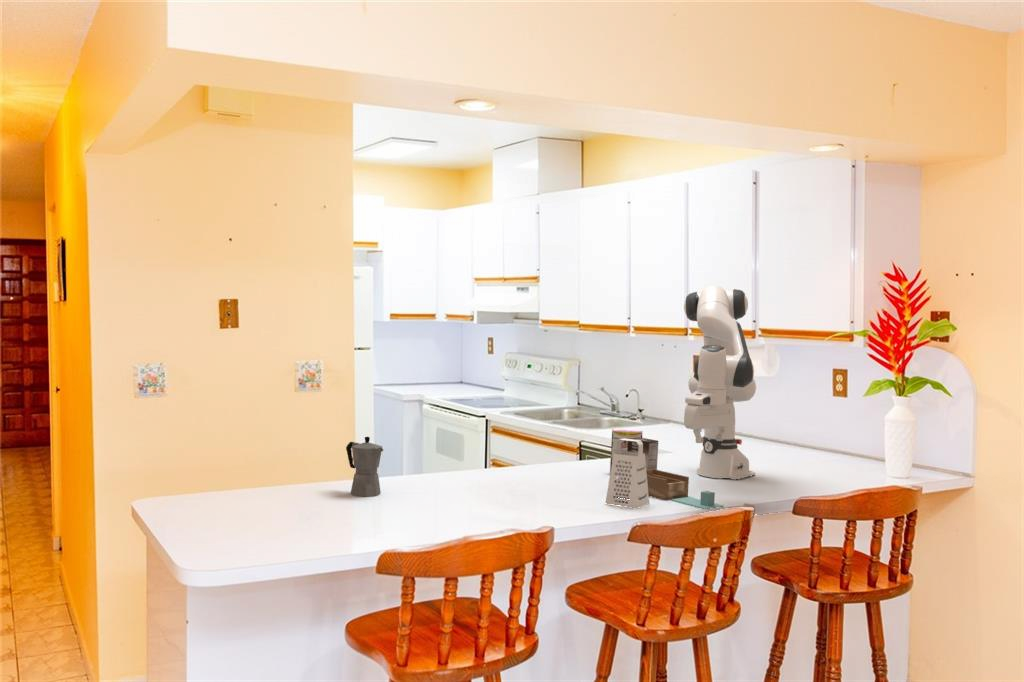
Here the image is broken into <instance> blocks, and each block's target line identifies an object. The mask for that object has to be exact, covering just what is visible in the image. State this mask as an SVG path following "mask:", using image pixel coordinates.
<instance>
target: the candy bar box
mask: <svg viewBox="0 0 1024 682" xmlns="http://www.w3.org/2000/svg"><path fill="white" fill-rule="evenodd" d="M636 437H640V438H643V431H642V430H636V429H635V430H634V429H621V428H619V429H618V428H617V429H616V428H612V429H611V441H610V443H611V444H610V445H611V447H610V461H609V462H610V463H609V465H610V466H609V474H610V473H611V467H612V461H613V455H614V454H615V453H616V443H617V442H618V441H619V440H620V439H623V438H625V439H629V438H636ZM627 447H628V441H627V440H622V441H621V451H627ZM619 466H620V465H619ZM616 467H618V466H616Z"/></svg>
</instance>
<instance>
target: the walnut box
mask: <svg viewBox="0 0 1024 682" xmlns="http://www.w3.org/2000/svg"><path fill="white" fill-rule="evenodd" d="M646 473H647V484H648V495H649V497H650V496H652V497H651V498H654V497H656V498H655V499H658V498H659V500H663V501H667V500H671V499H678V498H685V497H689V483H690V482H689V480H690V479H689V478H690V477H689V476H686V475H682V474H678V473H674V472H668V471H663V470H659V469H657V470H656V469H649V470H646Z"/></svg>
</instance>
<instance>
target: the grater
mask: <svg viewBox="0 0 1024 682" xmlns="http://www.w3.org/2000/svg"><path fill="white" fill-rule="evenodd" d="M622 440H627V441H636V442H637V444H638V445H639V449H638V453H637V452H628V451H621V441H622ZM619 465H620V466H619ZM616 466H618V467H616ZM618 497H619V499H617V498H618ZM649 497H650V496H649V495H648V484H647V473H646V462H645V453H643V443H642V442H641V440H634V439H625V438H623V439H620V440H619V441H618V442H617V443H616V453H615V454H614V455H613V461H612V467H611V473H610V472H609V479H608V487H607V491H606V496H605V503H607V504H614V505H621V506H627V507H632V508H631V509H633V508H638V507H640V508H642V507H644V506H646V505H645V504H647V503H649V504H650V498H649ZM620 498H623V499H620ZM624 498H625V499H626V500H624ZM627 499H630V500H627ZM619 501H620V502H619ZM623 502H624V503H623ZM626 502H627V503H626ZM605 503H604V504H605ZM643 505H644V506H643ZM647 505H648V504H647ZM641 506H642V507H641ZM638 509H639V508H638Z"/></svg>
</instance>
